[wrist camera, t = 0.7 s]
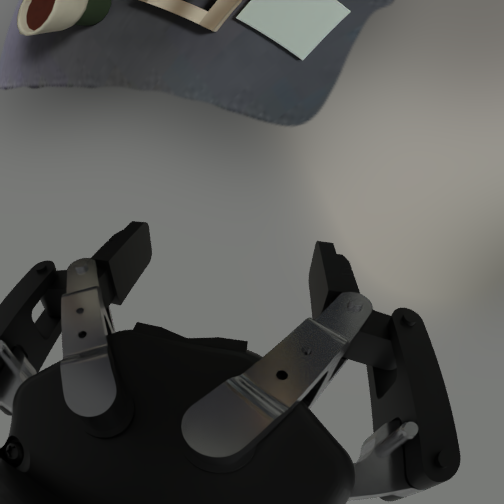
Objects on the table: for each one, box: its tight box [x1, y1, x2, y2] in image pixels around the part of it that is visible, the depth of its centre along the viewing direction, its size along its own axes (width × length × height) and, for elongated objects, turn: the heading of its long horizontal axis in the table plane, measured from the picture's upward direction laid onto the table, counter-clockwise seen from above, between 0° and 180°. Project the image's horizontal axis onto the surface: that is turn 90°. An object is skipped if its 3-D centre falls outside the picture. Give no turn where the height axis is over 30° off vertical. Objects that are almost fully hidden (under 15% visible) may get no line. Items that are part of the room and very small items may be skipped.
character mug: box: [17, 0, 111, 36], centre depth 15 cm, size 11×7×13 cm, turn 103°
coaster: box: [236, 0, 351, 60], centre depth 22 cm, size 10×10×1 cm
